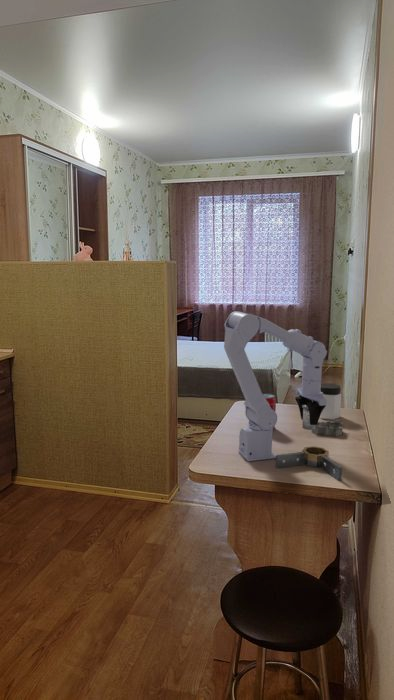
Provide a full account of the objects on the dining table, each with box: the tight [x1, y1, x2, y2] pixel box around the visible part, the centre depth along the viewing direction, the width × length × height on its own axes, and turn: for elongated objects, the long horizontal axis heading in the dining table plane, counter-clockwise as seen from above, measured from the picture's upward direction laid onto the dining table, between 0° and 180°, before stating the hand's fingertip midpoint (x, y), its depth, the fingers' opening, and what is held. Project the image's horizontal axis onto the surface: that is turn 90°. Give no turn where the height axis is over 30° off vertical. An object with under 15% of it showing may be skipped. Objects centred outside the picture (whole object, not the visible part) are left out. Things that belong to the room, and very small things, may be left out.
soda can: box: [262, 393, 277, 430], centre depth 175 cm, size 6×6×12 cm
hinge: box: [275, 445, 343, 481], centre depth 140 cm, size 16×16×4 cm
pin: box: [301, 403, 316, 431], centre depth 155 cm, size 5×5×7 cm
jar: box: [319, 382, 342, 421], centre depth 189 cm, size 9×8×12 cm
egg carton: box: [311, 419, 344, 437], centre depth 173 cm, size 11×8×4 cm
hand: (309, 421), depth 155 cm, fingers closed on pin, 5 cm apart
